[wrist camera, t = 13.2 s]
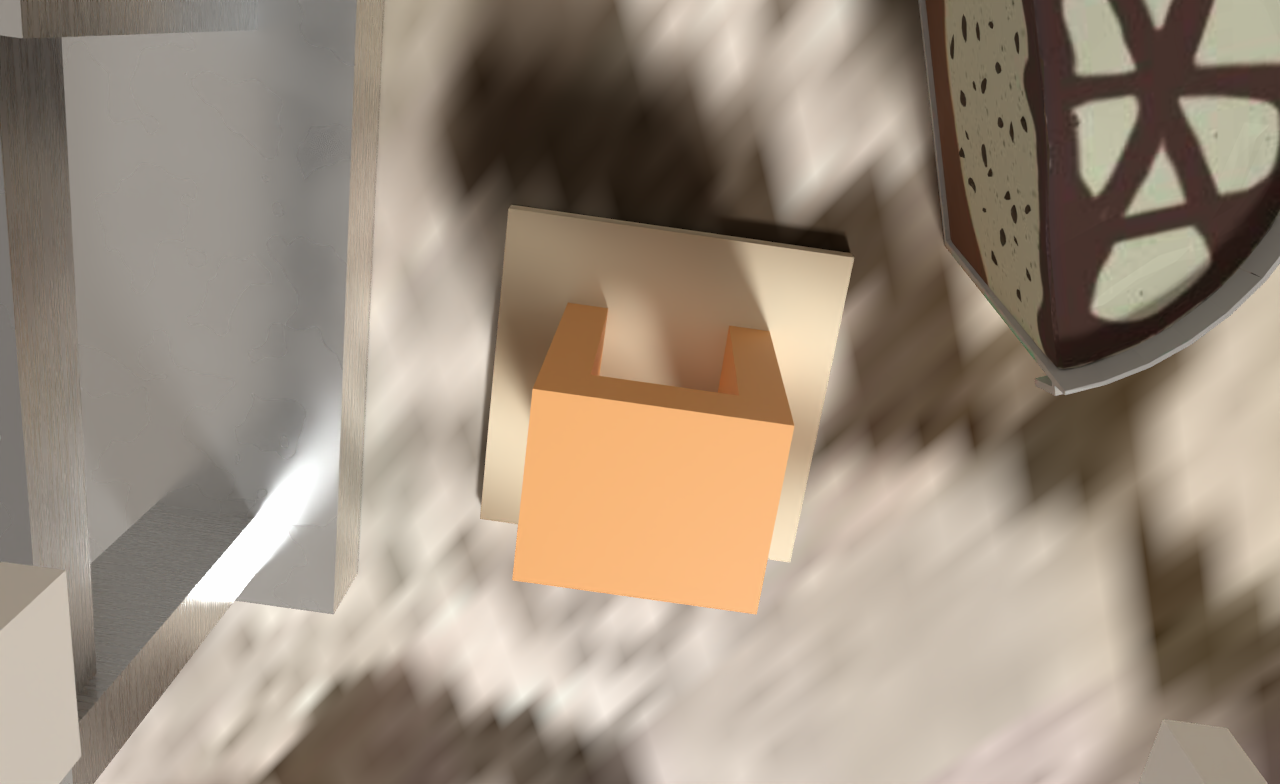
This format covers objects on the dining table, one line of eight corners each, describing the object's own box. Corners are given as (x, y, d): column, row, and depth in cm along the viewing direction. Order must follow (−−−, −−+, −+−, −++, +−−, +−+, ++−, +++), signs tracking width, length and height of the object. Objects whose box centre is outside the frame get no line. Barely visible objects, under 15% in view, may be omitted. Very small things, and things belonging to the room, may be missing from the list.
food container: (1165, 255, 30) (1383, 365, 21) (949, 295, 31) (1067, 419, 21) (1147, -221, 26) (1409, -354, 17) (900, -163, 27) (1017, -260, 17)
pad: (511, 204, 30) (508, 208, 30) (850, 252, 30) (853, 258, 30) (483, 510, 34) (480, 518, 33) (788, 553, 34) (790, 562, 33)
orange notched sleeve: (567, 302, 31) (532, 388, 24) (769, 330, 31) (794, 425, 24) (550, 456, 32) (512, 580, 25) (741, 483, 32) (756, 614, 25)
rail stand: (90, -118, 28) (-346, -217, 16) (387, -76, 28) (169, -142, 16) (119, 540, 35) (-172, 809, 23) (357, 573, 35) (189, 859, 23)
